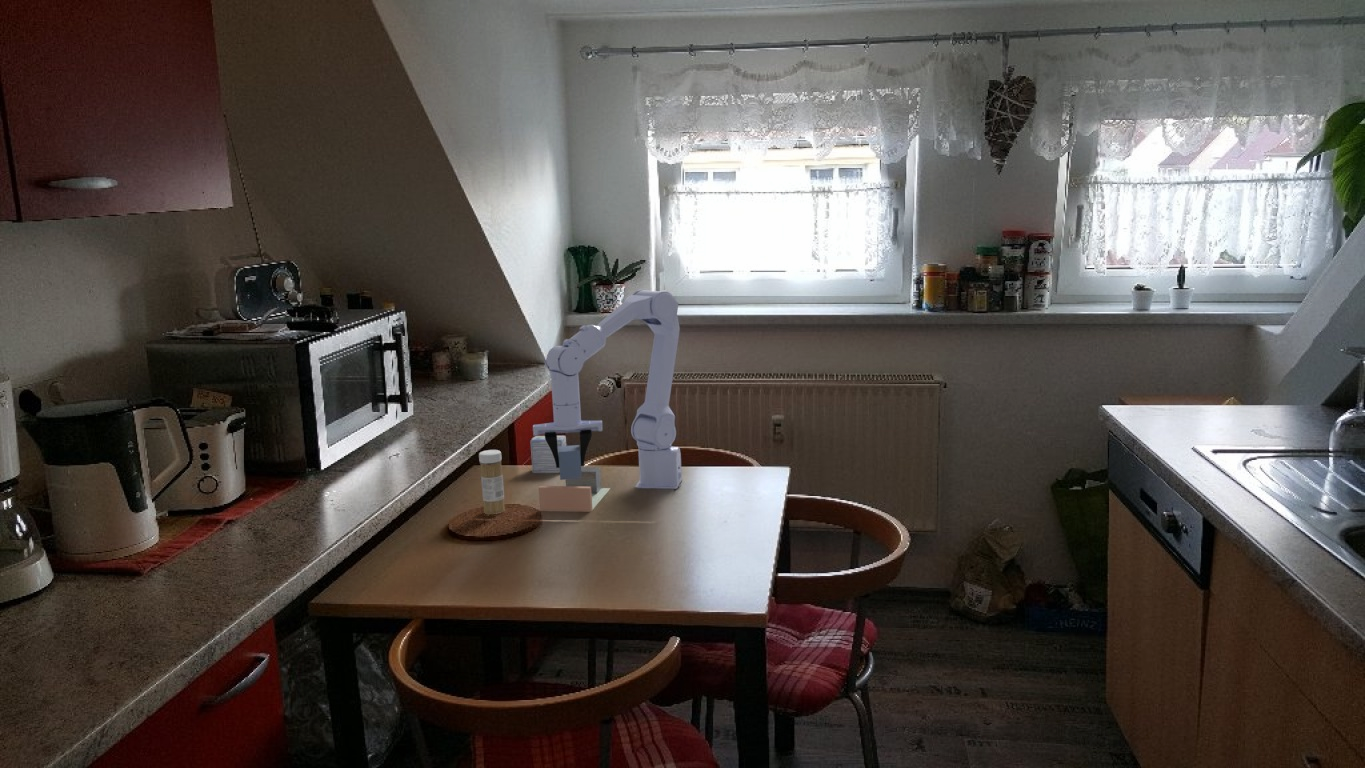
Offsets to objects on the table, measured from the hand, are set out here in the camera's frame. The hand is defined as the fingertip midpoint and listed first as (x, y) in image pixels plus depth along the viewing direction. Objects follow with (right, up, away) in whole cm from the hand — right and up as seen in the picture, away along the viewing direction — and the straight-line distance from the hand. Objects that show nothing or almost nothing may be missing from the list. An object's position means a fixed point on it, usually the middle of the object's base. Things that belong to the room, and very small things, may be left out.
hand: (570, 465), depth 207 cm
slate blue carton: (0, -2, 0) cm, 2 cm away
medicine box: (-8, -4, +29) cm, 31 cm away
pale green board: (+1, -8, +5) cm, 9 cm away
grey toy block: (+2, -7, +11) cm, 13 cm away
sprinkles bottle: (-16, -10, -2) cm, 19 cm away
